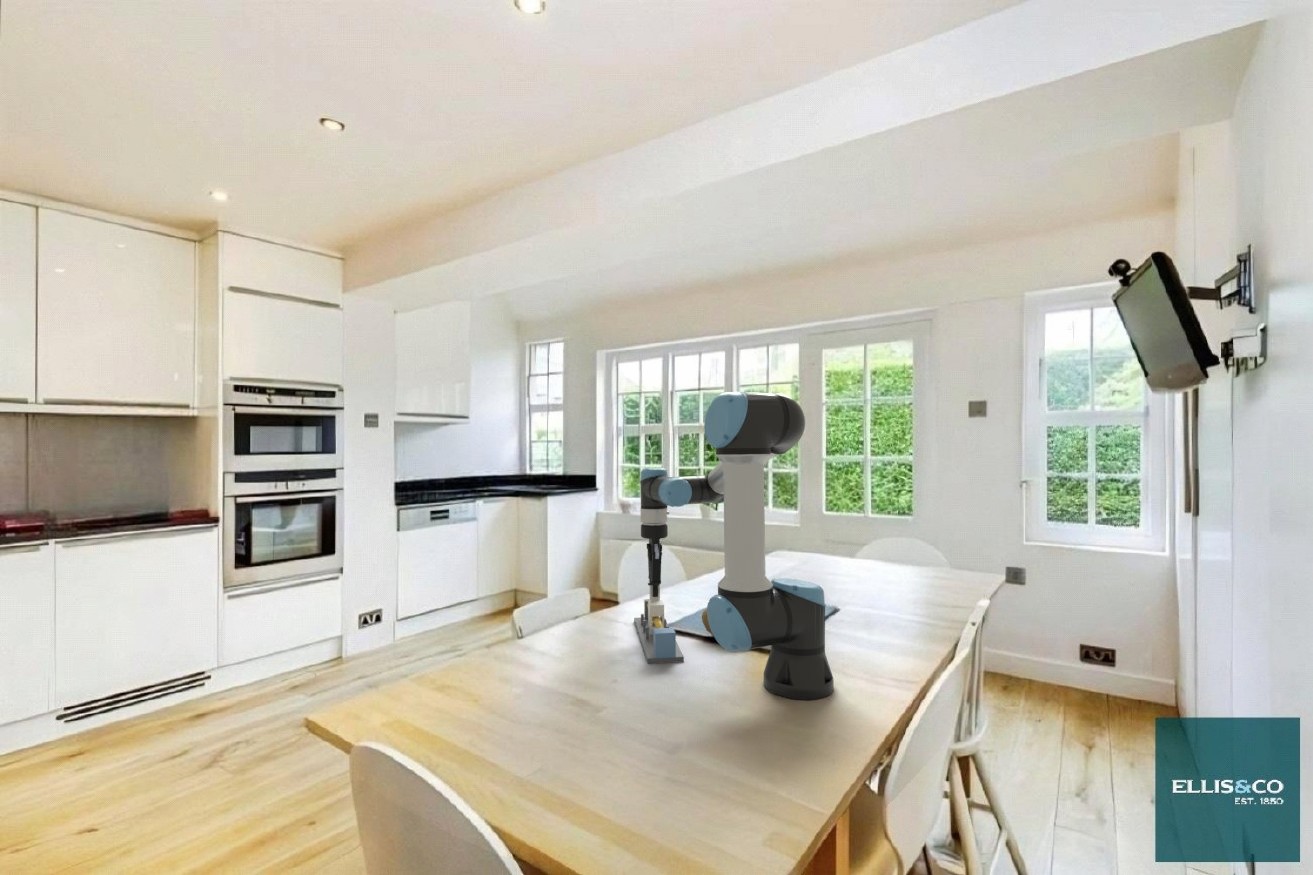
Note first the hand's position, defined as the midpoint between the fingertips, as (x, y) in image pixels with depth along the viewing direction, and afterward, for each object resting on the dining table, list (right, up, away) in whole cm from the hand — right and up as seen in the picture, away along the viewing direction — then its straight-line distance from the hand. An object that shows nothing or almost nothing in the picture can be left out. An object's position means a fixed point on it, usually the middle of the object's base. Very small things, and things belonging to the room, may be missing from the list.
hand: (654, 607), depth 168 cm
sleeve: (0, -4, -3) cm, 5 cm away
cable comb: (0, -8, -4) cm, 9 cm away
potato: (+20, -8, -3) cm, 21 cm away
